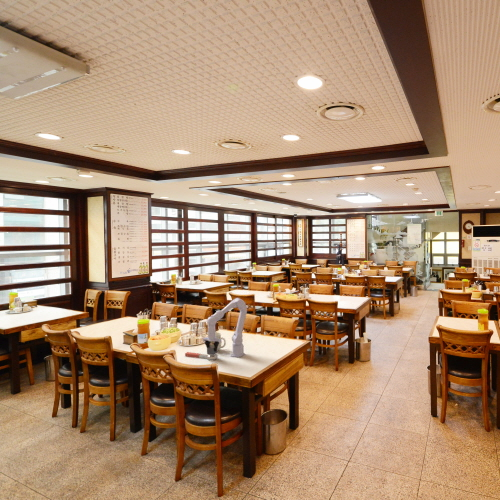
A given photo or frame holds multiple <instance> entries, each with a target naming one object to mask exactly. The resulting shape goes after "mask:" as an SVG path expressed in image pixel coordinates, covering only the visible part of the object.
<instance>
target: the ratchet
mask: <svg viewBox="0 0 500 500" xmlns="http://www.w3.org/2000/svg"><path fill="white" fill-rule="evenodd" d="M184 355H185V356H184V357H189V358H195V359H196V358H197V359H205V360H207V361H210V360H213V361H216V360H218V354H217V353H216V354H214V355H211V354H204V353H199V352H198V353H197V352H191V351H190V352H189V351H187V352H185V353H184Z"/></svg>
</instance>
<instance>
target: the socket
mask: <svg viewBox="0 0 500 500" xmlns="http://www.w3.org/2000/svg"><path fill="white" fill-rule="evenodd" d="M217 353H218V351H216V352H215V349H214V346H213V345H210V346H208V347H206V355H209V354H211V355H214V354H217Z"/></svg>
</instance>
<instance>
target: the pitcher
mask: <svg viewBox="0 0 500 500" xmlns="http://www.w3.org/2000/svg"><path fill="white" fill-rule="evenodd" d="M215 333H216V338H217V339H221V342H220V343H219V345H218V347H217V352H218V351H220V349H222V348H224V347H225V346H226V344H227V343H226V342H227V340H226V339H225V338H224V336H222V337H221V335H222V334H221V332H216V331H215ZM205 334H207V335H208V331H207V332H205ZM222 340H223V345H222ZM210 345H213V346H214V342H212V341H210Z"/></svg>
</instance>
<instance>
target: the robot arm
mask: <svg viewBox="0 0 500 500" xmlns="http://www.w3.org/2000/svg"><path fill="white" fill-rule="evenodd" d="M234 308H238V310H239V315H238V319H237V324H236V328H235V331H234V332H233V334H232V336H231V341H232V354H231V355H230V357H234V358H241V357H242V356H244V355H245V352H244V351H245V350H244V344H243V339H244V338H243V330H244V327H245V326H244V325H245V320H246V317H247V312H248V309H247V305H246V302H245V301H244V300H243V299H241V298H240V297H235V298H234V299H232V300H231V301H230V302H229V303H228V304H227V305H226V306H224V308H222V309H221V310H220V309H219V310H216V312H215V313H214V314H211V316H209V317H208V318H207V319H206V322H207V332H208V334H207V337H203V338H202V341H203V342H204V345H205V347H206V348H207V347H208V346H210V341H212V342H214V349H215V352H216V351H217V347H218V345H219V343H220V342H221V341H222V339H217V338H216V333H215V332H216V324H217V322H218V321H220V320H221V319H222V318H223V317H224V316H225V313H228V312H229V311H230V310H232V309H234ZM217 352H218V351H217Z"/></svg>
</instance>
